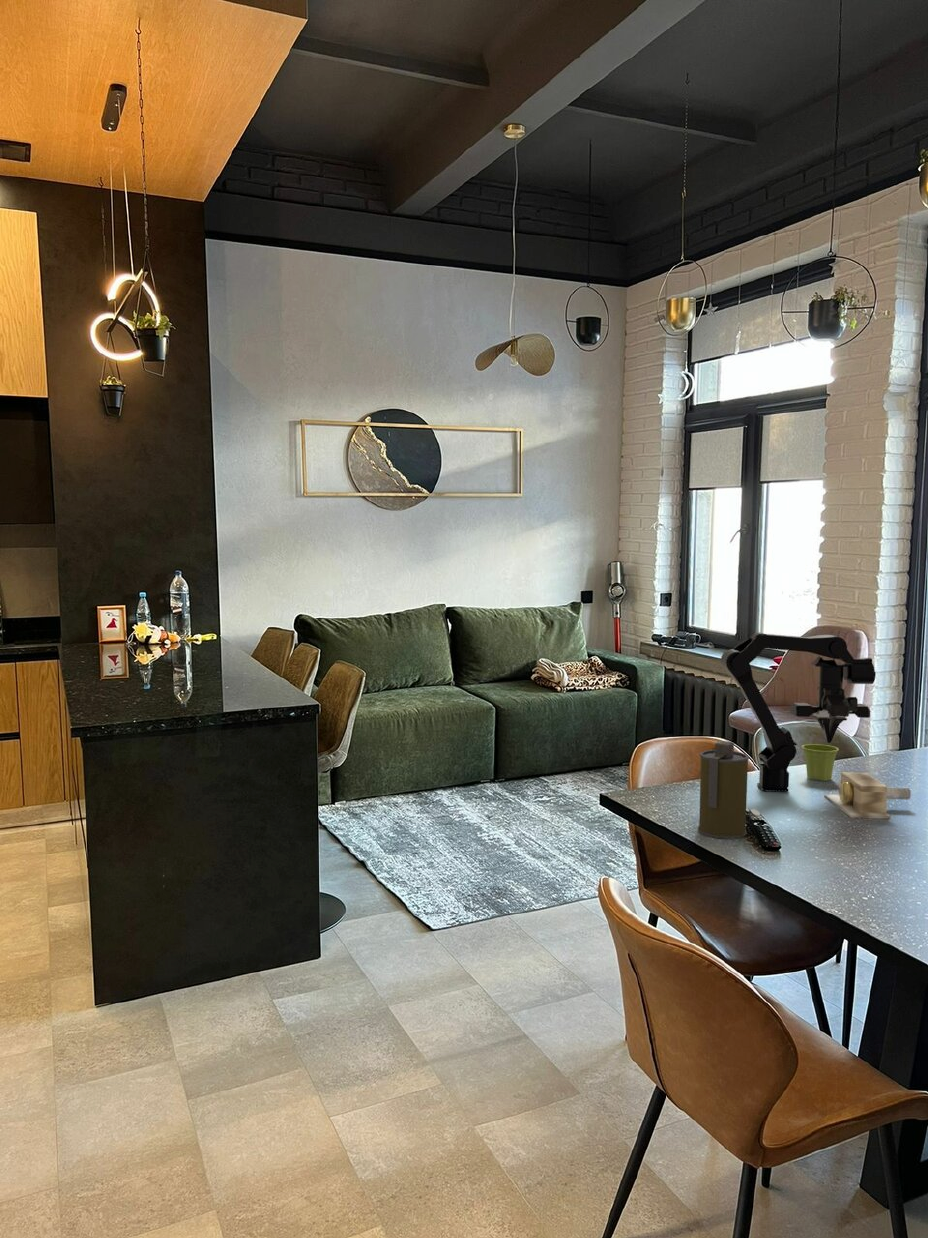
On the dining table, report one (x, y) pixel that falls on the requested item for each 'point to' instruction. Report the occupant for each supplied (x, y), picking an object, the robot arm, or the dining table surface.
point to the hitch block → (863, 797)
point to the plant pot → (819, 761)
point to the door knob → (892, 793)
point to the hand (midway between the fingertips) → (828, 742)
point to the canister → (723, 792)
